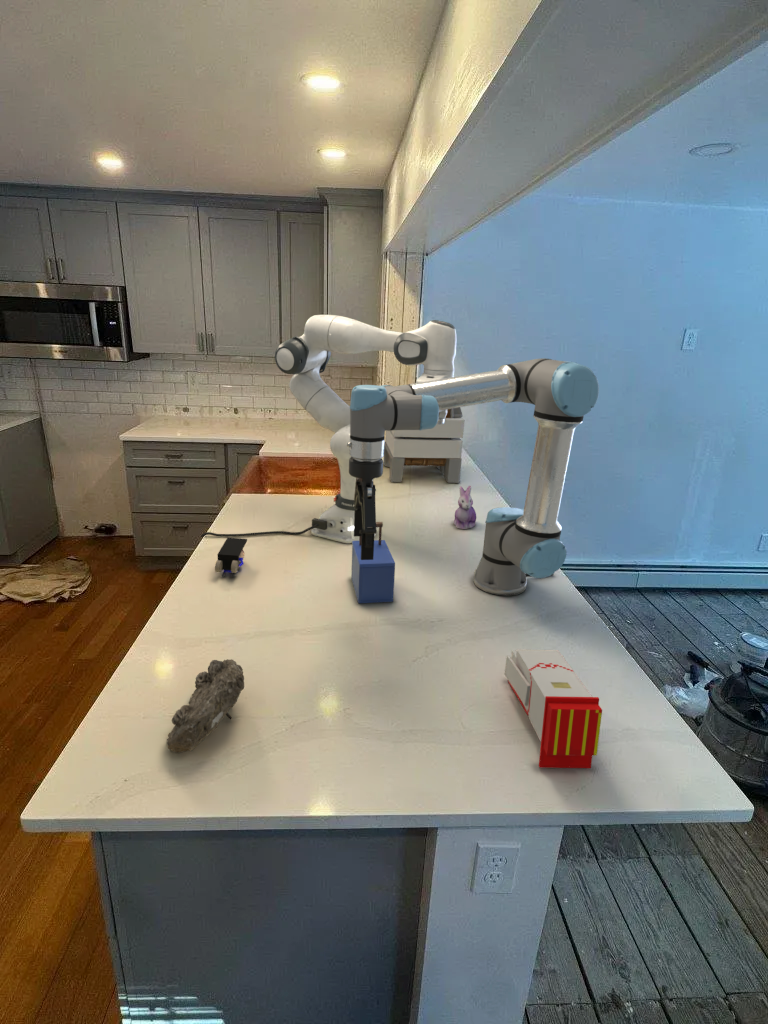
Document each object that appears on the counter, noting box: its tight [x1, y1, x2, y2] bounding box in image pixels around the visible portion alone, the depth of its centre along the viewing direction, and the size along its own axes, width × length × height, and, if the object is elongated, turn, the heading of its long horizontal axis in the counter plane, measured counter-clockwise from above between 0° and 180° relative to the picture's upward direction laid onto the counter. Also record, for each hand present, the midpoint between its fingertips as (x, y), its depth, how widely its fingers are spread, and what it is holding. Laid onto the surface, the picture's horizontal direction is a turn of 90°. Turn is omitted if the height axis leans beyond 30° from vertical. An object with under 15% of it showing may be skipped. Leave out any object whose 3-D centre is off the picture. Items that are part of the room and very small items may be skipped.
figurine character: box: [214, 537, 248, 578], centre depth 166 cm, size 7×8×15 cm
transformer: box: [383, 384, 465, 484], centre depth 268 cm, size 34×33×41 cm
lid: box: [351, 521, 396, 567], centre depth 155 cm, size 16×10×8 cm, turn 10°
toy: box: [504, 648, 603, 769], centre depth 111 cm, size 12×13×30 cm
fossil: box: [166, 658, 245, 754], centre depth 106 cm, size 22×10×15 cm
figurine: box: [453, 485, 477, 530], centre depth 208 cm, size 9×10×15 cm
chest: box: [350, 545, 396, 604], centre depth 158 cm, size 15×10×11 cm, turn 10°
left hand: (434, 426), depth 170 cm, fingers open, 8 cm apart
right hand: (363, 547), depth 131 cm, fingers open, 13 cm apart
